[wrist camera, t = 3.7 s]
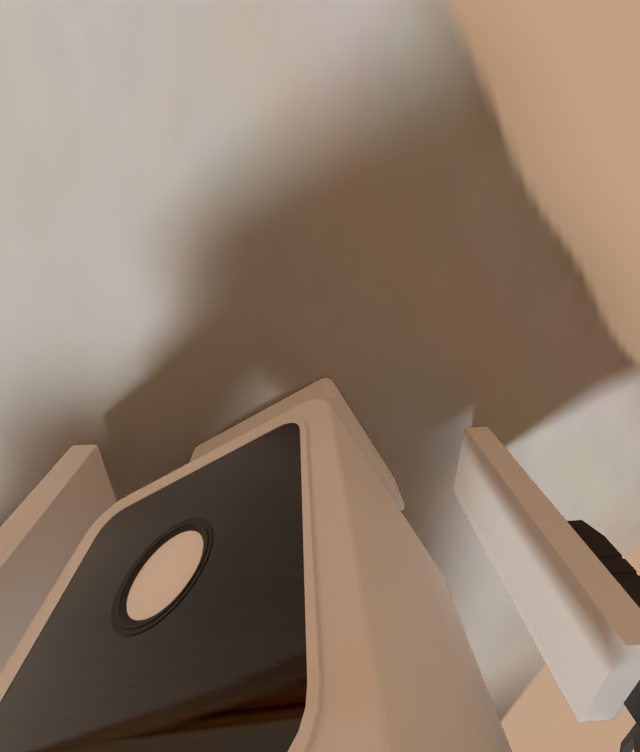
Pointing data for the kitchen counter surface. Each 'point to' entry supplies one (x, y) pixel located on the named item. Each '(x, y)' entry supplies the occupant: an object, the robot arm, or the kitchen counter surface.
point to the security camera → (253, 611)
